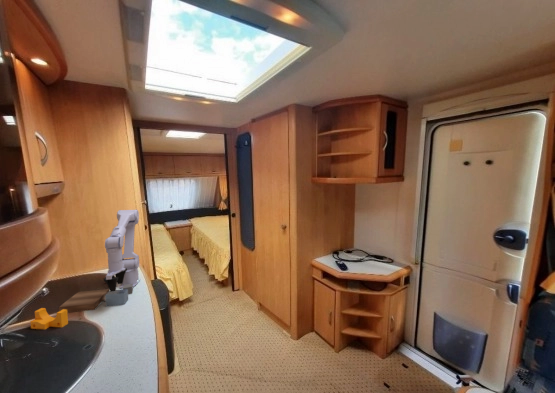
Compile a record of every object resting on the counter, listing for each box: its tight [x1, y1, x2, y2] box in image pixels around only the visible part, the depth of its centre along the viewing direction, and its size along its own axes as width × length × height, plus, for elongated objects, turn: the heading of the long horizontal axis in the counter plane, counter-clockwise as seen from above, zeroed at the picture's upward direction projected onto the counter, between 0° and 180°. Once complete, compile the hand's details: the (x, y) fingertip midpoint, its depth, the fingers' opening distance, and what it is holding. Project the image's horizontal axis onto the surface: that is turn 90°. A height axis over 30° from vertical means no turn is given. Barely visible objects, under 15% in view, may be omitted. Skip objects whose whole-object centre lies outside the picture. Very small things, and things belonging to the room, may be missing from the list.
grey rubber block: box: [122, 284, 134, 295], centre depth 121 cm, size 4×4×4 cm
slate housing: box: [103, 288, 129, 307], centre depth 111 cm, size 4×9×6 cm, turn 103°
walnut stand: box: [58, 288, 110, 314], centre depth 111 cm, size 14×14×3 cm
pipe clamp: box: [30, 307, 69, 330], centre depth 94 cm, size 12×4×6 cm, turn 86°
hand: (116, 287), depth 111 cm, fingers open, 7 cm apart
